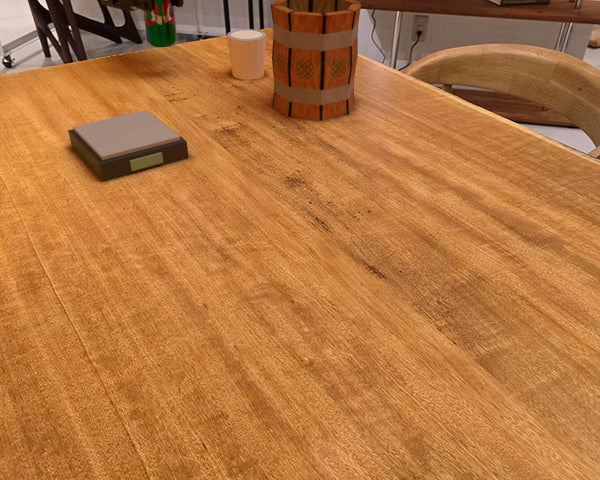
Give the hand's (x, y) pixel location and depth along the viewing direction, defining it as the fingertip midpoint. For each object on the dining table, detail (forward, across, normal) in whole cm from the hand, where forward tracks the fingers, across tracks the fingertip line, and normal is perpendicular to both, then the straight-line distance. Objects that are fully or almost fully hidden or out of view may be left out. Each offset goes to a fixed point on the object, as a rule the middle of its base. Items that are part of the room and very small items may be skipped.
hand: (165, 2), depth 96 cm
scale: (+22, -20, +12) cm, 32 cm away
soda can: (-3, 0, +7) cm, 8 cm away
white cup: (+6, +12, +12) cm, 18 cm away
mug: (+22, +13, +12) cm, 28 cm away
